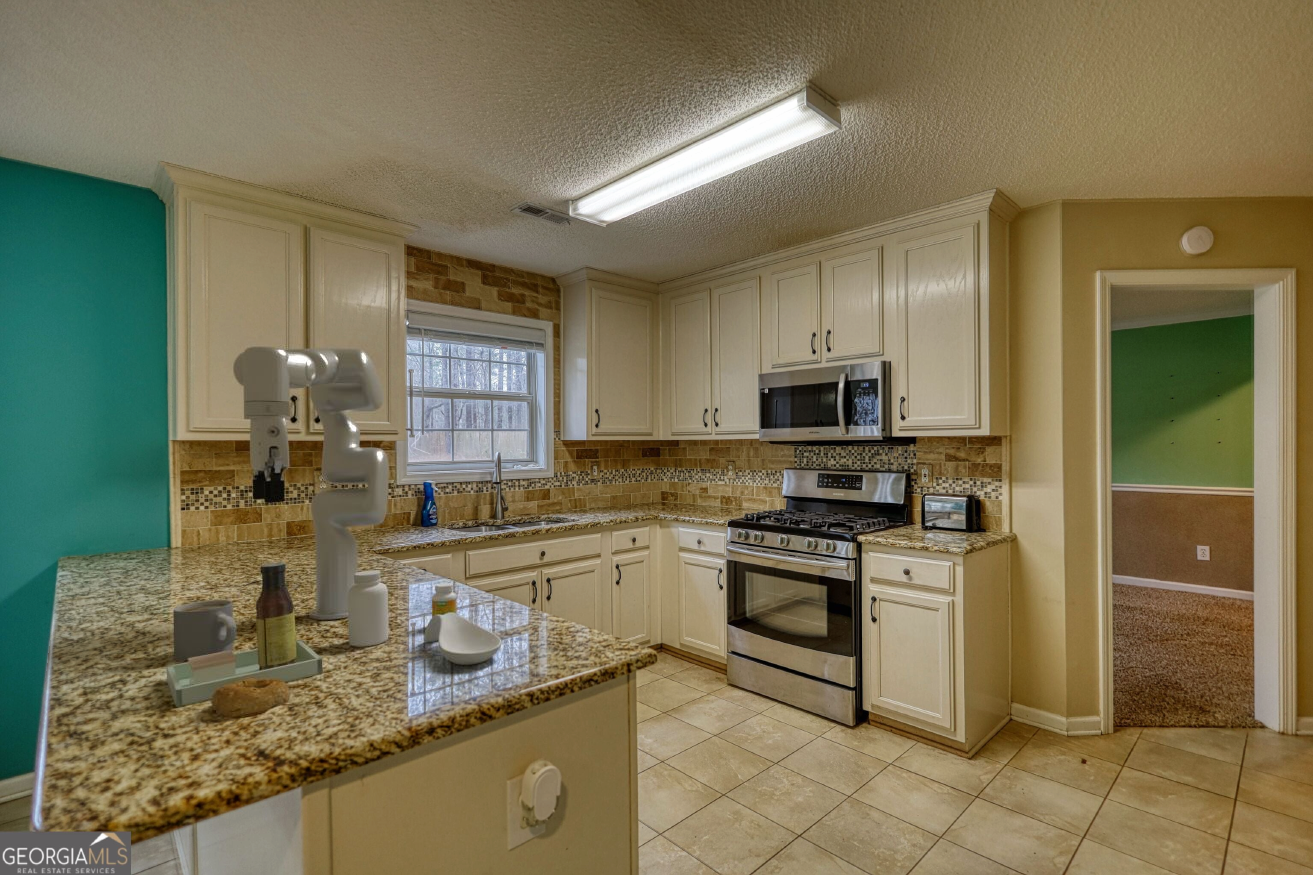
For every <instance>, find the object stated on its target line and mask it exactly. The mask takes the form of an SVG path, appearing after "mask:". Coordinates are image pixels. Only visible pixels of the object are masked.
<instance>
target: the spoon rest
mask: <svg viewBox="0 0 1313 875" xmlns="http://www.w3.org/2000/svg"><path fill="white" fill-rule="evenodd" d="M423 636H424V637H423V642H424V643H433V642H437V641H438V642H437V643H438V648H439V650H440V653H441V654H442V656H443V657H444V658H445V659H446V660H448V661H449V662H451V663H453V664H455V665H458V666H472V665H477V664H481V663H484V662H486V661H488V660H489V659H491V658H492V657H493V656H495V655H496V654H497V653H498V651H499V650H500V649H501V647H502V644H503V642H502V640H501V638H500V637H499V635H496V634H495V633H493V632H491V631H489V630H488V629H487V628H484V627H482V626H480V625H478V624H477V623H474V622H473V621H471V620H468V619H467V618H465V617H463V616H461V615H459V614H457V613H456V614H455V613H452V612H450V613H446V614H444V615H435V616H433V617H432V616H431V618H430V620H429V622H428V623H427V625H426V628H425V631H424V635H423Z"/></svg>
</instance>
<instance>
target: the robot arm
mask: <svg viewBox="0 0 1313 875" xmlns="http://www.w3.org/2000/svg"><path fill="white" fill-rule="evenodd" d="M234 360H235V361H234V362H233V368H232V370H233V375H234V377H235V379H236V381H237V383H238V384H239V385H240V386H242V387H243V420H250V426H249V458H250V459H249V460H250V467H251V468H252V469H253V471H252V500H264V503H266V504H272V503H284V502H285V476H284V475H285V474H284V471H287V470H288V469H290V450H289V448H290V447H289V434H288V428H287V421H286V420H290V419H291V418H290V389H294V390H295V389H303V388H306V387H307V388H308V387H310V389H309V395H310V399H311V402H312V404H313V407H314V409H315V411H316V413H317V416H318V417H319V420H320V423H321V425H322V427H323V446H322V457H321V458H322V459H321V477H322V479H323V481H324V482H326V483H327V484H331V485H366V486H367V488H331V489H325V490H322V491H319V492H318V493H316V494H315V495H314V496H313V498H312V499H311V504H310V510H311V517H312V521H313V526H314V535H315V592H316V593H315V595H316V596H315V598H316V599H315V600H316V607H315V608H313V609H311V611H309V615H308V616H309V618H310V619H312V620H316V621H317V620H318V621H319V620H320V621H327V620H328V621H329V620H331V621H332V620H340V619H345V618H348V591H349V589H350V588H351V587H353V586H355V585H356V584H355V583H354V582H355V581H354V574H355V573H358V572H359V564H358V563H359V562H358V560H359V559H358V554H359V552H358V551H359V549H358V548H359V546H358V541H357V539H356V537H355V535H354V534H353V533H352V531H351V530H349V528H348V527H364V526H368V527H369V526H377V525H380V524H382V523H383V522H384V520H386V519H385V518H386V516H387V511H388V496H389V479H390V478H389V477H390V476H389V475H390V463H389V459H388V454H387V453H386V452H385V450H383V449H382V448H379V447H368V446H367V447H360V441H361V438H360V437H361V429H360V428H359V426H358V424H357V423H356V422H355V421H354V420H353V419H352V417H350V415H349V414H348V413H347V412H374V411H377V410H379V409H380V408H381V407H382V405H383V403H384V391H383V386H382V384H381V381H380V378H379V376H378V375H379V374H378V373H377V371H376V367H375V365H374V363H373V361H372V358H370V356H369V355H368V354H367V352H365V351H364V350H362V349H360V348H359V349H358V348H294V349H283V348H280V347H273V346H251V347H247V348H246V349H244V351H242V352H240V354H238V356H237V357H236V358H235V359H234Z"/></svg>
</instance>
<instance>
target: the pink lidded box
mask: <svg viewBox="0 0 1313 875" xmlns="http://www.w3.org/2000/svg"><path fill="white" fill-rule="evenodd" d="M233 653H234V652H233V650H232V651H231V650H229V651H223V652H218V653H213V654H208V655H202V656H197V657H192V658H188V660H187V662H188V663H189V684H190V686H191V685H196V684H200V683H205V682H210V681H214V680H219V679H224V678H228V677H233V676H235V662H237V658H236V657H235V655H234V654H233Z"/></svg>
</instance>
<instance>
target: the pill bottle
mask: <svg viewBox="0 0 1313 875" xmlns="http://www.w3.org/2000/svg"><path fill="white" fill-rule="evenodd" d="M381 577H382V576H381V571H380V570H377V569H376V570H364V571H358V573H355V574H354V581H355V582H354V583H355V584H356V585H355V586H353V587H351V588H350V589H349V591H348V617H347V618H348V619H347V623H348V624H347V626H348V629H347V630H348V632H347V633H348V644H349V645H350V646H352V647H360V648H361V647H362V648H364V647H371V646H376V645H379V644H382V643H385V642H387V640H388V638H389V597H388V596H389V594H388V592H389V589H388V587H387V585H386V584H385V583H383V582H381V581H382V579H381Z"/></svg>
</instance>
